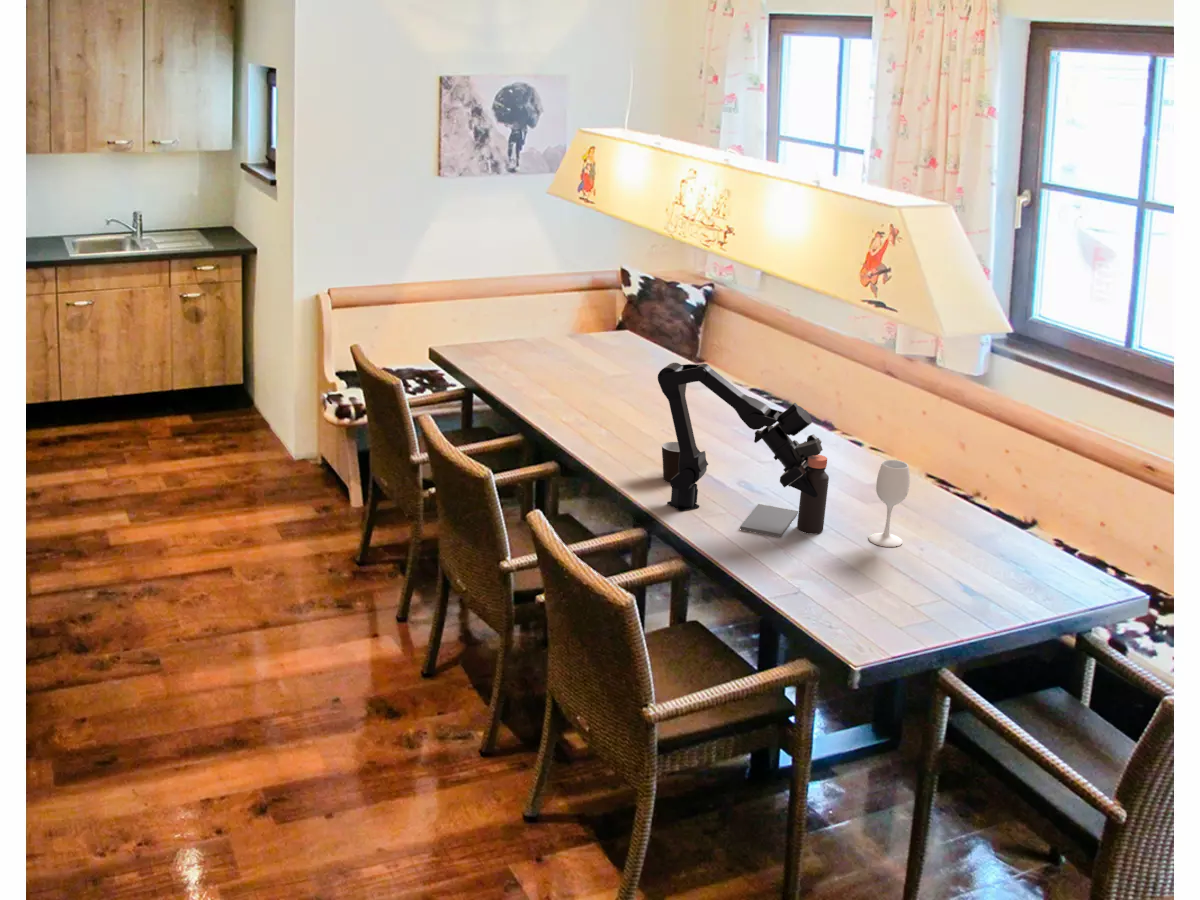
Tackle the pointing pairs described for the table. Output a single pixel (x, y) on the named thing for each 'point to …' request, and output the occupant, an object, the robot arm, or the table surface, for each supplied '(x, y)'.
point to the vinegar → (809, 506)
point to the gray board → (769, 520)
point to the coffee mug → (670, 460)
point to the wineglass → (891, 496)
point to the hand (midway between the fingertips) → (819, 492)
